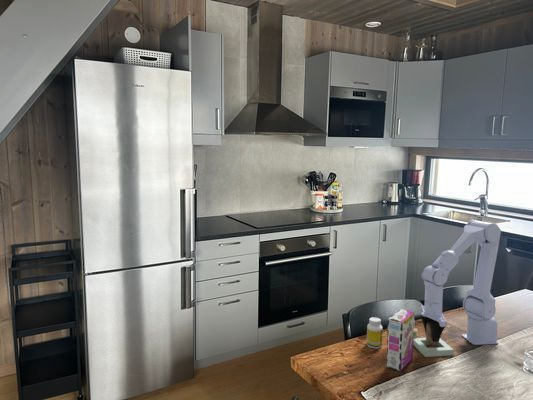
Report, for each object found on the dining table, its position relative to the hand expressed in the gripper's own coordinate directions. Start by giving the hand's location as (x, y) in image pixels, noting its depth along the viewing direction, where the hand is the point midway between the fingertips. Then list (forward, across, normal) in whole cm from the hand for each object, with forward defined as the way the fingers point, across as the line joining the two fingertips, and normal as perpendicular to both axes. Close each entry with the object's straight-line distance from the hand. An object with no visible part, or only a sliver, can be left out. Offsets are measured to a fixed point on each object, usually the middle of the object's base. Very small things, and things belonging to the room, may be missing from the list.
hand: (432, 338), depth 142 cm
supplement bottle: (+4, -5, -19) cm, 20 cm away
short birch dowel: (+4, -8, -4) cm, 9 cm away
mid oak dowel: (+4, -12, -3) cm, 13 cm away
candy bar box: (+4, +8, -15) cm, 18 cm away
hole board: (+4, 0, 0) cm, 4 cm away
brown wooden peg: (+2, 0, 0) cm, 2 cm away
